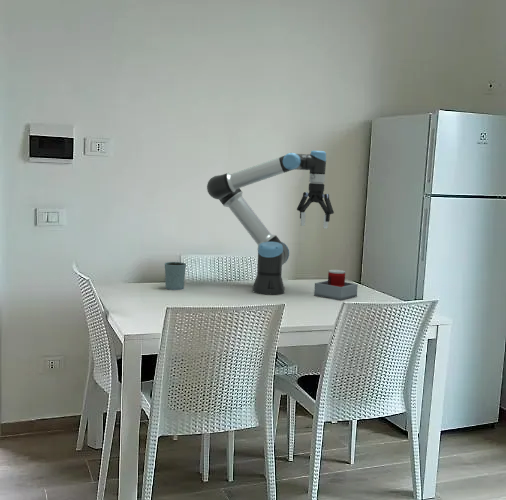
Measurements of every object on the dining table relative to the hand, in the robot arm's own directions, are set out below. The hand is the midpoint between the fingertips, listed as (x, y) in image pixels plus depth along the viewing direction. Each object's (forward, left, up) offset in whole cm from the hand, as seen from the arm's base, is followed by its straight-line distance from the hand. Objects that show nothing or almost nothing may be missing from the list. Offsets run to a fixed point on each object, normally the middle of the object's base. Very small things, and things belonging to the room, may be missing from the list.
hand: (313, 227), depth 336 cm
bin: (+16, -3, -31) cm, 35 cm away
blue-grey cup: (-45, -49, -32) cm, 73 cm away
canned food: (+16, -3, -30) cm, 34 cm away
